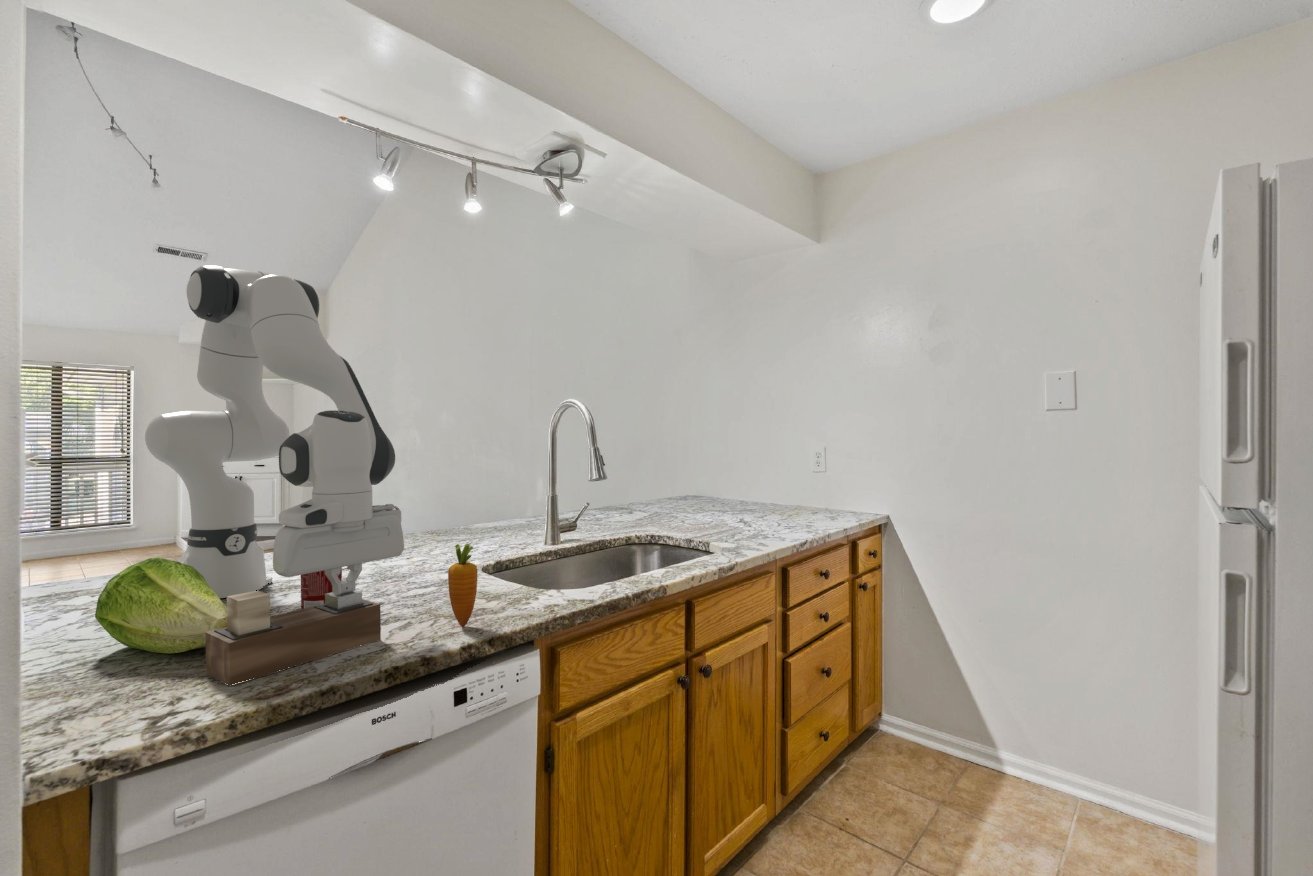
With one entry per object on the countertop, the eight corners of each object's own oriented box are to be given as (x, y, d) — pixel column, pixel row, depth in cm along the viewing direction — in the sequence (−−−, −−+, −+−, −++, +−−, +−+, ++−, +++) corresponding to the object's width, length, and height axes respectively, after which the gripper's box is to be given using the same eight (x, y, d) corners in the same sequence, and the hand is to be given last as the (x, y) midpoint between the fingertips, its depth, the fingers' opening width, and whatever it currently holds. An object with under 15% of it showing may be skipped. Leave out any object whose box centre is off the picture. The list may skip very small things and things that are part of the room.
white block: (325, 630, 99) (325, 593, 99) (349, 623, 103) (348, 588, 103) (338, 634, 97) (337, 597, 97) (362, 628, 100) (362, 592, 100)
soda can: (324, 623, 110) (323, 557, 109) (292, 620, 111) (291, 555, 111) (350, 612, 116) (349, 549, 116) (319, 610, 118) (319, 548, 117)
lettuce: (277, 652, 99) (169, 697, 85) (194, 619, 109) (88, 655, 96) (271, 566, 97) (161, 599, 83) (188, 542, 107) (79, 567, 94)
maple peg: (227, 637, 88) (226, 596, 88) (257, 630, 91) (257, 590, 91) (239, 643, 86) (238, 601, 85) (270, 635, 89) (269, 594, 89)
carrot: (448, 624, 109) (447, 541, 109) (476, 621, 111) (476, 539, 110) (448, 632, 104) (448, 546, 104) (478, 629, 106) (478, 544, 106)
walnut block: (206, 673, 87) (205, 630, 87) (354, 630, 106) (354, 595, 105) (229, 686, 83) (229, 641, 83) (380, 639, 101) (380, 602, 101)
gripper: (390, 501, 110) (391, 577, 110) (267, 515, 93) (268, 604, 93) (411, 503, 106) (412, 582, 107) (286, 518, 89) (288, 611, 90)
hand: (344, 592), depth 100 cm, fingers closed, pressing on white block
